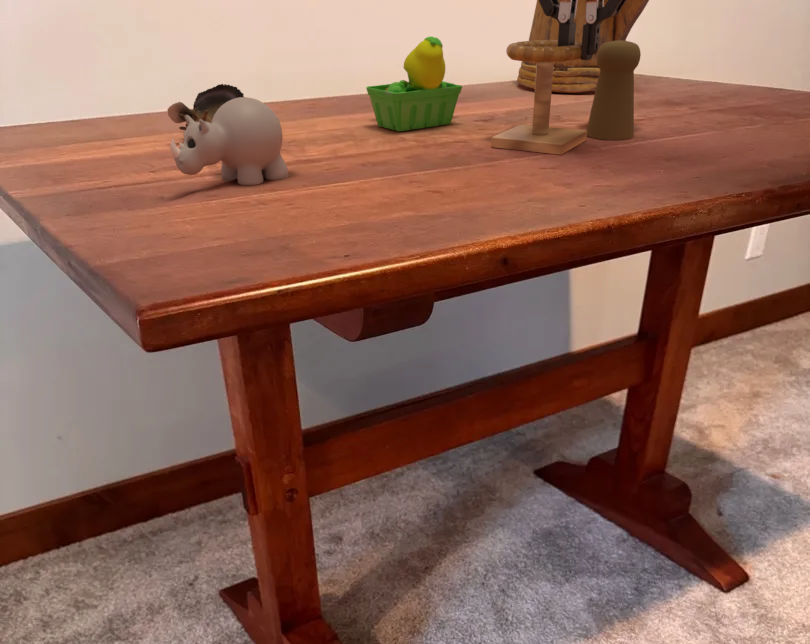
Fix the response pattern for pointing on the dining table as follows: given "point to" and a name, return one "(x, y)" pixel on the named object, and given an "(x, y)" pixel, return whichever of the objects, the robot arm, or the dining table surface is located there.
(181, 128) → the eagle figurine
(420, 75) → the fruit basket
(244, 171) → the toy rhinoceros
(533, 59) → the ring
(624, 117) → the cork
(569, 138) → the post
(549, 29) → the tankard
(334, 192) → the dining table surface
